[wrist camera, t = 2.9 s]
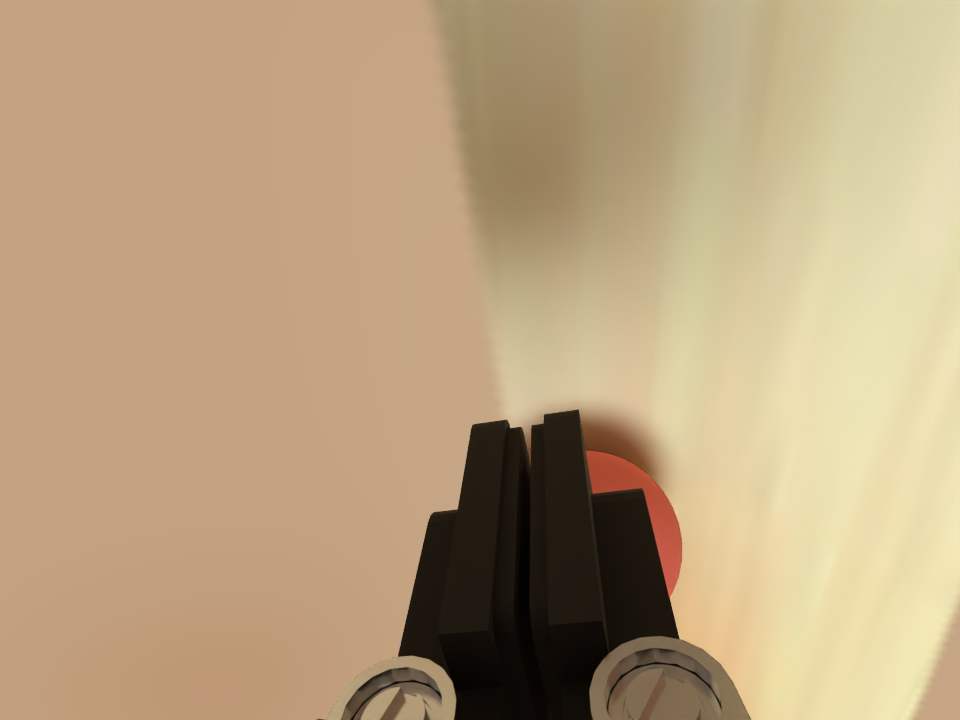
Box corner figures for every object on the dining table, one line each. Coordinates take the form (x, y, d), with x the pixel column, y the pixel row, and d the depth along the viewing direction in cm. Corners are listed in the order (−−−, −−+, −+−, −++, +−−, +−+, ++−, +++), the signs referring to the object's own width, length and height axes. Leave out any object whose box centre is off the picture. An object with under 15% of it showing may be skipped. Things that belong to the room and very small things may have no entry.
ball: (486, 428, 23) (472, 551, 18) (656, 405, 22) (695, 528, 17) (517, 550, 25) (512, 689, 20) (670, 535, 24) (707, 676, 19)
